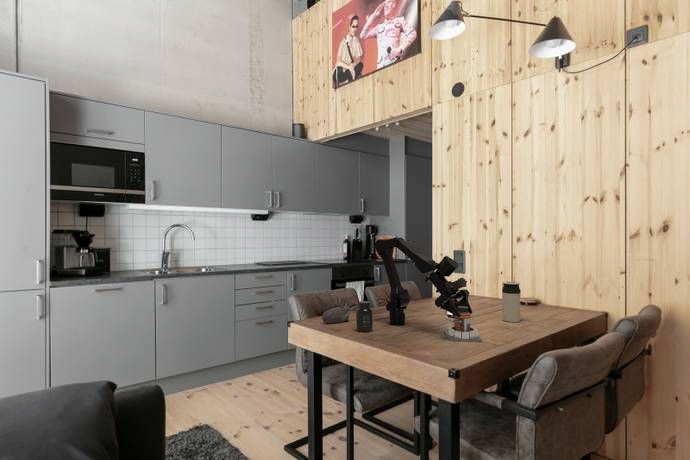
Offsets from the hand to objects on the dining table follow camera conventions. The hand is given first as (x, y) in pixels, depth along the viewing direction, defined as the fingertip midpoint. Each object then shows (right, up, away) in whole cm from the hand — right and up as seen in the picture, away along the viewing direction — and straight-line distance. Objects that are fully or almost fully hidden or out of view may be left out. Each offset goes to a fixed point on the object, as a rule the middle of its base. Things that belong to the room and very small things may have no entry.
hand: (465, 314), depth 161 cm
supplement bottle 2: (-1, -8, +1) cm, 9 cm away
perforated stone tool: (-51, -9, +26) cm, 58 cm away
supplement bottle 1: (-39, -9, +11) cm, 42 cm away
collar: (-1, -9, +1) cm, 9 cm away
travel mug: (+31, -9, +32) cm, 45 cm away
